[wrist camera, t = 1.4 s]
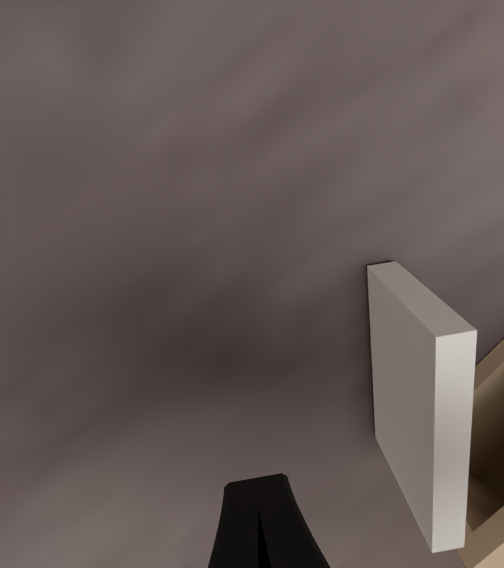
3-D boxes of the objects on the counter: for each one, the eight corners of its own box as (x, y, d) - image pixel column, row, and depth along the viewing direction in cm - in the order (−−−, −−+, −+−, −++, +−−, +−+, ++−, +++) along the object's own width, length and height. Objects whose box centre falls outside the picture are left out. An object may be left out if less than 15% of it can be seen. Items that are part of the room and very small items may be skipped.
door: (395, 261, 15) (477, 329, 10) (399, 433, 18) (464, 547, 13) (367, 265, 15) (435, 337, 10) (375, 437, 18) (432, 553, 13)
